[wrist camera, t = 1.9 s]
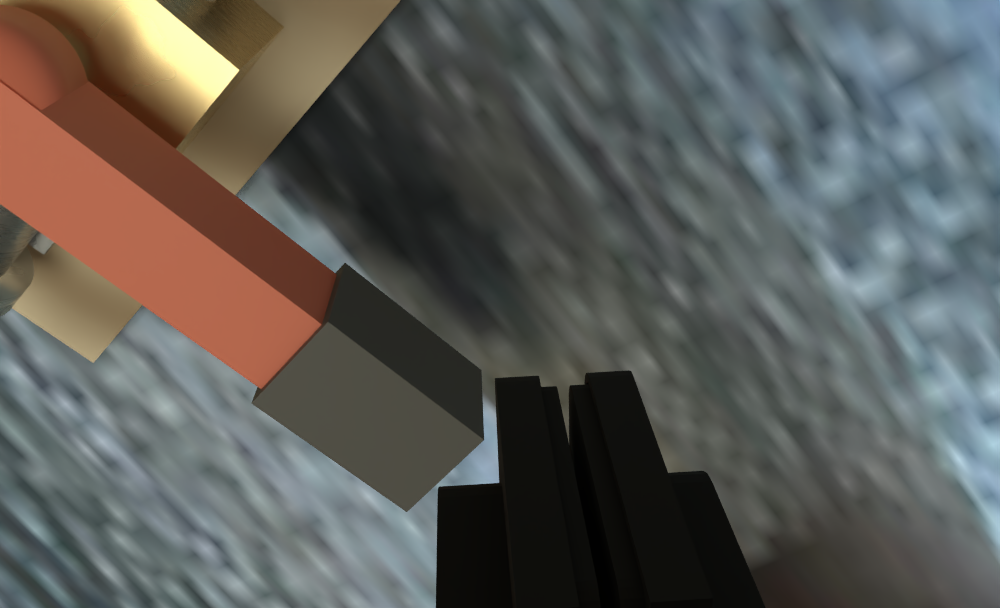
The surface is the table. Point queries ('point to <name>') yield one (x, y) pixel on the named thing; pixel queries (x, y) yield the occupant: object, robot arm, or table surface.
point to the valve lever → (229, 275)
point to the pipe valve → (145, 79)
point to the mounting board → (215, 155)
